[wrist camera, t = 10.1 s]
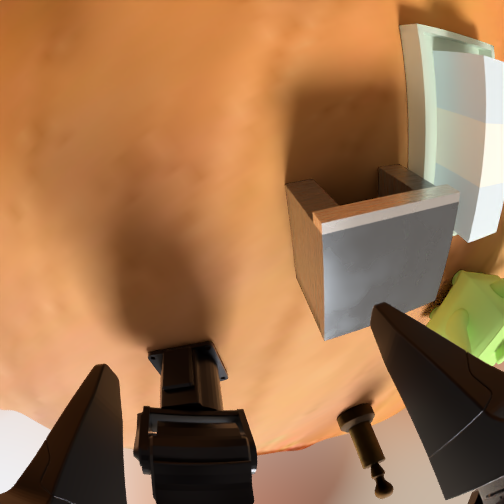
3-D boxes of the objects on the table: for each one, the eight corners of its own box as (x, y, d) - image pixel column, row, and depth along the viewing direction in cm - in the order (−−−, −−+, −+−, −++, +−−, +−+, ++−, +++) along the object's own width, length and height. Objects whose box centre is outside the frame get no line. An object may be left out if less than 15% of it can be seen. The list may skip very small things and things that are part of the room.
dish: (469, 216, 23) (481, 226, 21) (402, 235, 23) (415, 248, 21) (476, 43, 13) (493, 46, 12) (398, 25, 13) (416, 23, 11)
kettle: (407, 294, 27) (464, 375, 18) (493, 224, 25) (557, 281, 15) (420, 349, 35) (456, 409, 26) (489, 295, 33) (530, 344, 23)
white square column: (460, 204, 21) (496, 232, 17) (430, 212, 21) (468, 242, 17) (465, 57, 14) (512, 65, 10) (432, 50, 14) (483, 55, 9)
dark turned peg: (367, 413, 45) (399, 491, 30) (335, 424, 45) (363, 506, 30) (373, 399, 41) (410, 486, 27) (338, 411, 41) (371, 503, 26)
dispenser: (392, 251, 23) (434, 300, 18) (296, 278, 23) (324, 340, 18) (399, 156, 19) (460, 192, 13) (283, 175, 18) (321, 223, 13)
